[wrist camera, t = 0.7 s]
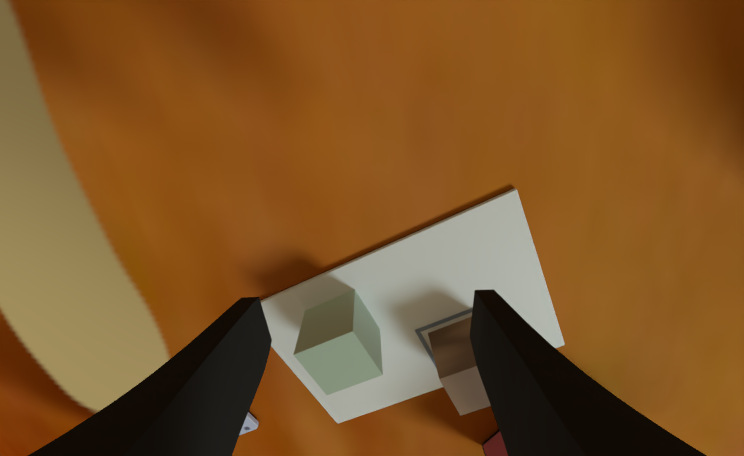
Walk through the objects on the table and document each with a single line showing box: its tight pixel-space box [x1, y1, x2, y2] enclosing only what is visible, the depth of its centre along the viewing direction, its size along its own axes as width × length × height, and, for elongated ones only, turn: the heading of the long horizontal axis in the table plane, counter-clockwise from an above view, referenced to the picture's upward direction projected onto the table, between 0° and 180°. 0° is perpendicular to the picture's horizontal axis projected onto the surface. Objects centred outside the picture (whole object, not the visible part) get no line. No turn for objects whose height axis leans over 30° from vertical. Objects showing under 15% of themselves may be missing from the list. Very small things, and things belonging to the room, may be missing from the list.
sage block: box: [293, 290, 383, 395], centre depth 21 cm, size 4×4×4 cm
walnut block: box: [428, 317, 491, 416], centre depth 22 cm, size 4×4×4 cm
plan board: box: [260, 188, 565, 424], centre depth 23 cm, size 20×14×1 cm
